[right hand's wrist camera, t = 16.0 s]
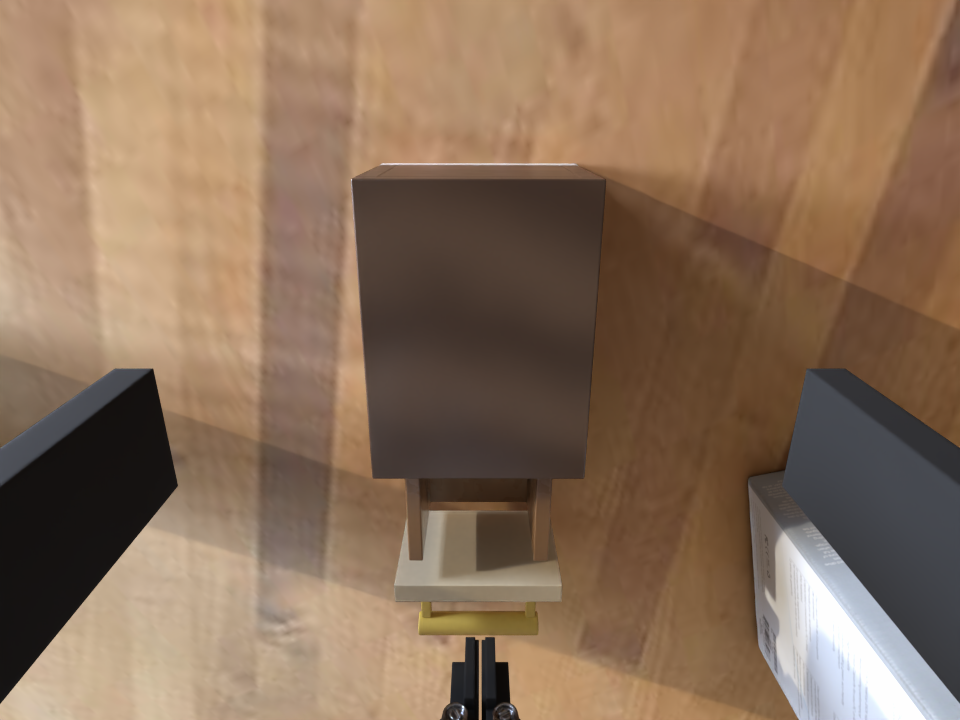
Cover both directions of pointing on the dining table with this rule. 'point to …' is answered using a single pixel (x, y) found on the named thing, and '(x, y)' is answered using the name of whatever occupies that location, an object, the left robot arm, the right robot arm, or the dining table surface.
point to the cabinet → (478, 317)
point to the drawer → (478, 555)
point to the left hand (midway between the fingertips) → (480, 656)
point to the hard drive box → (830, 625)
